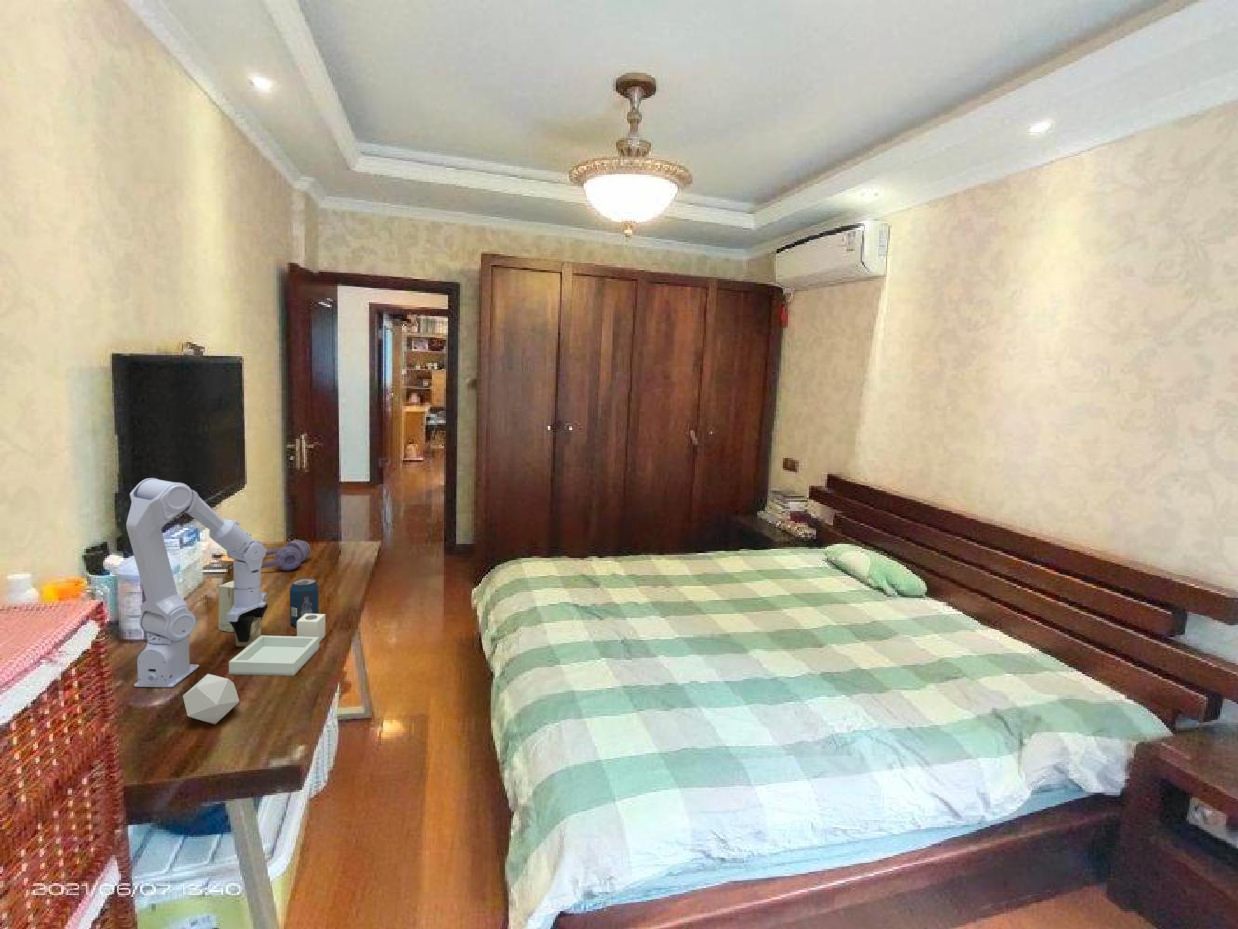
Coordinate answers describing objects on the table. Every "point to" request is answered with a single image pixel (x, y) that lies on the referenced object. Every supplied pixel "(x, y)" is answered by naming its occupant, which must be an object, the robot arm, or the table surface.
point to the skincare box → (225, 605)
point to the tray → (274, 656)
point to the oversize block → (311, 626)
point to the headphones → (289, 555)
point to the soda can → (303, 598)
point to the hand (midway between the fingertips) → (248, 637)
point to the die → (210, 698)
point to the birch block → (252, 632)
